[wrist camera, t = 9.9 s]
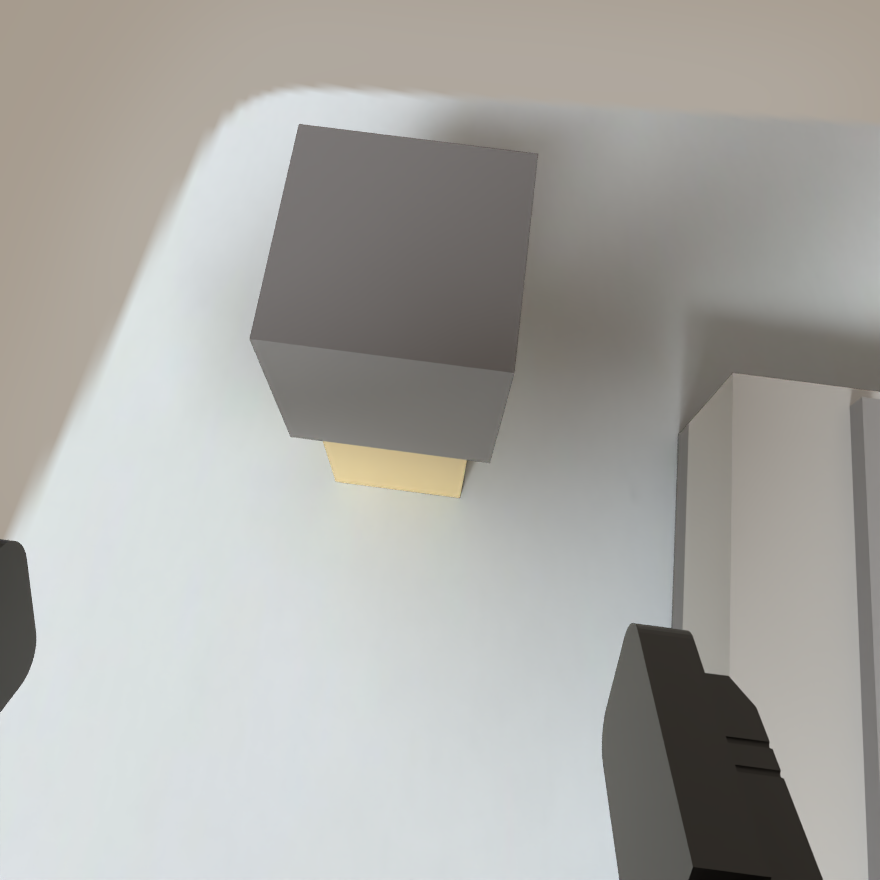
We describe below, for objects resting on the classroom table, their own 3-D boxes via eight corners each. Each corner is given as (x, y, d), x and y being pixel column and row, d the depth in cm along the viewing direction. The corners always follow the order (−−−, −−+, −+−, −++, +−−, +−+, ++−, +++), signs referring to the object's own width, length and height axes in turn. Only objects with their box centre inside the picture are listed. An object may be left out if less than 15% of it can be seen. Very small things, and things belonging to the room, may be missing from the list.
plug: (492, 370, 25) (537, 154, 16) (475, 517, 24) (514, 372, 14) (342, 351, 25) (298, 124, 16) (315, 495, 24) (249, 339, 14)
